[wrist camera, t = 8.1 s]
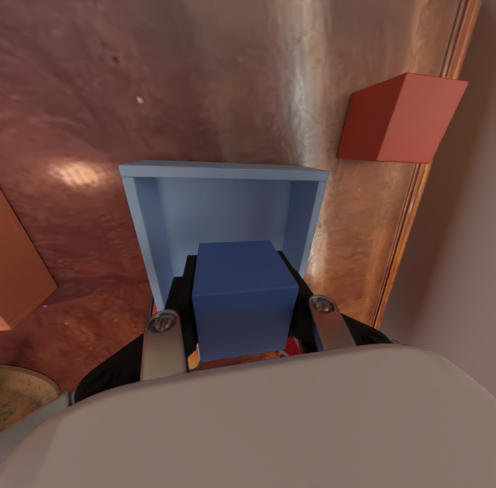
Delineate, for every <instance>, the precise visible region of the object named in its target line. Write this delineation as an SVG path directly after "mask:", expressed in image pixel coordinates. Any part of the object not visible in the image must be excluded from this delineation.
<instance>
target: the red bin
mask: <svg viewBox="0 0 496 488" xmlns="http://www.w3.org/2000/svg"><path fill="white" fill-rule="evenodd" d="M57 288H58V286H57V285H56V283H55V281H54V280H53V278H52V276H51V275H50V273H49V271H48V269H47V268H46V266H45V264H44V263H43V261H42V259H41V257H40V256H39V254H38V252H37V251H36V249H35V247H34V246H33V244H32V242H31V240H30V239H29V237H28V235H27V234H26V232H25V230H24V229H23V227H22V225H21V223H20V222H19V220H18V218H17V217H16V215H15V213H14V211H13V210H12V208H11V206H10V205H9V203H8V201H7V200H6V198H5V196H4V194H3V193H2V191H1V189H0V331H2V330H11V329H13V328H14V327H15V326H16V325H17V324H18V323H19V322H20V321H21V320H23V319H24V318H25V317H26V316H27V315H28V314H29V313H30V312H31V311H32V310H34V309H35V308H36V307H37V306H38V305H39V304H40V303H41V302H42V301H43V300H45V299H46V298H47V297H48V296H49V295H50V294H51V293H52V292H53V291H55V290H56V289H57Z"/></svg>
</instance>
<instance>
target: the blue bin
mask: <svg viewBox="0 0 496 488" xmlns="http://www.w3.org/2000/svg"><path fill="white" fill-rule="evenodd" d="M118 168H119V171H120V175H121V176H122V177H121V179H122V182H123V186H124V190H125V193H126V197H127V201H128V204H129V208H130V212H131V215H132V219H133V223H134V227H135V230H136V234H137V238H138V241H139V245H140V249H141V252H142V256H143V260H144V263H145V267H146V271H147V275H148V278H149V282H150V286H151V289H152V293H153V297H154V300H155V304H156V308H157V311H158V312H159V311H161V310H164V308H165V305H166V301H167V298H168V295H169V291H170V288H171V285H172V281H173V278H174V277H180V276H183V272H184V268H185V264H186V259H187V255H198V247H199V243H214V242H240V241H266V240H270V241H271V242H272V244H273V246H274V247H275V249H276V250H277V251H282V252H283V253H284V255H285V256H286V258H287V259H288V261H289V262H290V264H291V265H292V267H293V268H294V269H296V270H297V271H298V273H299V274H300V276H301V277H302V279H304V275H305V271H306V266H307V262H308V258H309V254H310V250H311V246H312V242H313V237H314V233H315V229H316V225H317V221H318V217H319V213H320V208H321V204H322V200H323V196H324V192H325V188H326V184H327V182H326V181H327V180H328V175H329V171H324V170H319V169H315V168H310V167H305V166H300V165H276V164H250V163H223V162H197V161H170V160H141V161H136V162H130V163H125V164H119V165H118Z"/></svg>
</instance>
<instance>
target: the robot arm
mask: <svg viewBox="0 0 496 488" xmlns="http://www.w3.org/2000/svg"><path fill="white" fill-rule="evenodd" d="M277 252H278V254H279V255H280V257H281V258H282V260H283V262H284V263H285V265H286V266H287V268H288V270H289V271H290V273H291V274H292V276H293V278H294V279H295V281H296V282H297V284H298V286H299V289H298V294H297V298H296V302H295V307H294V311H293V315H292V320H291V324H290V328H289V333H288V338H290V337H295V338H296V339H298V345H299V350H300V355H294V356H288V357H281V358H275V359H269V360H262V361H256V362H250V363H244V364H237V365H231V366H225V367H219V368H213V369H207V370H201V371H195V372H190V371H189V363H188V357H189V356H190V355H191V354H192V353H193V352H194V351H196V349H197V344H198V339H197V332H196V324H195V317H194V309H193V302H192V290H193V283H194V276H195V269H196V262H197V255H187V259H186V264H185V268H184V272H183V276H180V277H174V278H173V281H172V285H171V288H170V291H169V295H168V298H167V301H166V305H165V308H164V310H161V311H159V312H157V313H155V314H153V315H152V316H151V317H150V318H149V319H148V320H147V322H146V324H145V329H144V333H143V334H141V335H140V336H139V337H137V338H136V339H135V340H133V341H132V342H130V343H129V344H128V345H126V346H125V347H123V348H122V349H121V350H119V351H118V352H117V353H115V354H114V355H112V356H111V357H110V358H108V359H107V360H106V361H104V362H103V363H101V364H100V365H99V366H97V367H96V368H94V369H93V370H92V371H91V372H89V373H88V374H87V375H86V376H85V377H84V378H83V379H82V381H81V382H80V383H79V385H78V387H77V388H76V389H74V390H73V391H71V392H70V393H69V392H68V391H65V392H64V393H62V394H61V395H59V396H57V397H56V398H54V399H52V400H51V401H49V402H48V403H46V404H44V405H43V406H41V407H39V408H38V409H36V410H35V411H33V412H31V413H30V414H28V415H26V416H25V417H23V418H22V419H20V420H18V421H17V422H15V423H14V424H12V425H10V426H9V427H7V428H5V429H4V430H2V431H1V432H0V488H496V398H495V397H494V396H492V395H491V394H490V393H489V392H488V391H486V390H485V389H484V388H483V387H482V386H481V385H479V384H478V383H477V382H476V381H475V380H473V379H472V378H471V377H470V376H469V375H467V374H466V373H465V372H464V371H462V370H461V369H460V368H458V367H457V366H456V365H454V364H453V363H451V362H450V361H448V360H447V359H445V358H444V357H442V356H440V355H438V354H436V353H433V352H430V351H428V350H424V349H420V348H417V347H413V346H410V345H408V344H405V343H402V342H399V341H397V340H394V339H392V340H391V341H390V340H389V339H388V338H387V337H386V336H385V335H384V334H383V333H381V332H380V331H378V330H376V329H374V328H372V327H370V326H368V325H366V324H363V323H361V322H359V321H357V320H355V319H353V318H350V317H348V316H346V315H344V314H342V313H340V311H339V309H338V307H337V305H336V304H335V302H334V301H332V300H331V299H330V298H328V297H326V296H323V295H313V293H312V292H311V290H310V289H309V287H308V286H307V284H306V283H305V281H304V280H303V279H302V277H301V276H300V274H299V273H298V271H297V270H296V269H294V268H293V267H292V265H291V264H290V262H289V261H288V259H287V258H286V256H285V255H284V253H283V252H282V251H277Z"/></svg>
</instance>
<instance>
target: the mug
mask: <svg viewBox="0 0 496 488" xmlns="http://www.w3.org/2000/svg"><path fill="white" fill-rule="evenodd" d="M59 395H60V390H59V387H58V386H57V384H56V383H55V382H54V381H53V380H51V379H50V378H48V377H47V376H45V375H43V374H40V373H38V372H35V371H32V370H29V369H25V368H21V367H16V366H9V365H0V432H1V431H2V430H4V429H5V428H7V427H9V426H10V425H12V424H14V423H15V422H17V421H18V420H20V419H22V418H23V417H25V416H26V415H28V414H30V413H31V412H33V411H35V410H36V409H38V408H39V407H41V406H43V405H44V404H46V403H48V402H49V401H51V400H52V399H54V398H56V397H57V396H59Z"/></svg>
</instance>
